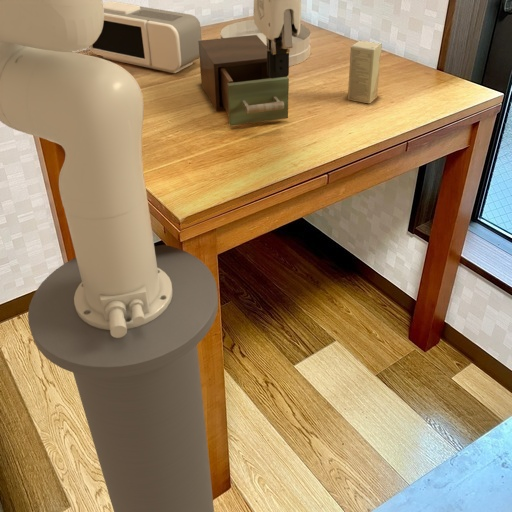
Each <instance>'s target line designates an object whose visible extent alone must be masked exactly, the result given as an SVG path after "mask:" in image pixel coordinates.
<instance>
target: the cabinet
mask: <svg viewBox="0 0 512 512" xmlns="http://www.w3.org/2000/svg"><path fill="white" fill-rule="evenodd" d="M198 42H199V56H200V57H199V69H200V82H201V87H202V89H203V90H204V93H205V94H206V95H207V97H208V99H209V102H210V103H211V104H212V106H213V108H214V109H215V111H216V112H222V111H223V112H224V111H226V110H225V108H224V106H223V105H222V103H221V101H220V96H219V77H218V67H227V66H236V65H245V64H254V63H263V62H267V51H270V50H267V46H266V45H265V44H264V43H263V42H262V41H261V39H260V38H259V37H258V36H257V35H250V36H240V37H230V38H221V37H219V38H212V39H210V38H209V39H202V40H200V41H198Z"/></svg>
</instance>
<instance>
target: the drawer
mask: <svg viewBox="0 0 512 512" xmlns="http://www.w3.org/2000/svg"><path fill="white" fill-rule="evenodd" d="M218 77H219V96H220V101H221V103H222V105H223V106H224V108H225V110H224V111H226V113H227V115H228V124H229V126H232V127H233V126H240V125H246V124H247V125H248V124H255V123H261V122H269V121H276V120H277V121H278V120H285V119H288V118H289V93H290V92H289V91H290V90H289V88H290V86H289V85H290V78H289V76H287V77H280V78H273V79H272V78H270V77H269V75H268V74H267V62H263V63H254V64H245V65H236V66H227V67H218Z"/></svg>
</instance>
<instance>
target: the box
mask: <svg viewBox="0 0 512 512" xmlns="http://www.w3.org/2000/svg"><path fill="white" fill-rule="evenodd" d="M382 49H383V44H382V43H381V42H373V41H367V40H358V41H357V42H355V43H353V44H352V45H351V46H350V53H349V56H350V57H349V58H350V59H349V73H348V88H347V100H348V101H353V102H359V103H364V104H371V103H372V102H374V100H376V99H377V98H378V94H379V83H380V72H381V71H380V70H381V60H382Z"/></svg>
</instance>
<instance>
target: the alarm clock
mask: <svg viewBox="0 0 512 512" xmlns="http://www.w3.org/2000/svg"><path fill="white" fill-rule="evenodd" d="M103 9H104V23H103V29H102V32H101V34H100V36H99V37H98V39H97V40H96V41H95V43H93V44H92V45H91V46H89V47H88V49H89V50H90V52H92V53H93V54H94V55H96V56H101V57H102V59H105V60H112V61H116V62H120V63H126V64H129V65H134V66H138V67H144V68H148V69H153V70H158V71H163V72H167V73H172V74H176V73H178V72H180V71H182V70H184V69H186V68H187V67H189V66H191V65H194V64H193V63H194V61H196V60H198V59H200V56H199V42H198V41H200V40H203V38H202V26H201V22H200V20H199V19H198V18H197V17H196V16H195V15H193V14H190V13H183V12H178V11H171V10H164V9H159V8H153V7H147V6H140V5H137V4H132V3H125V2H119V1H114V0H109V1H105V2H103Z"/></svg>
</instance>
